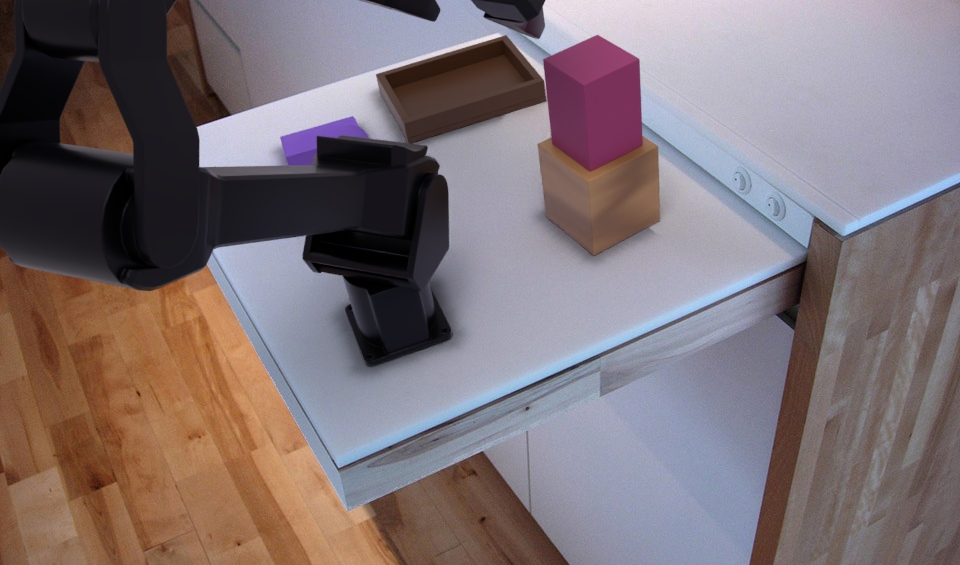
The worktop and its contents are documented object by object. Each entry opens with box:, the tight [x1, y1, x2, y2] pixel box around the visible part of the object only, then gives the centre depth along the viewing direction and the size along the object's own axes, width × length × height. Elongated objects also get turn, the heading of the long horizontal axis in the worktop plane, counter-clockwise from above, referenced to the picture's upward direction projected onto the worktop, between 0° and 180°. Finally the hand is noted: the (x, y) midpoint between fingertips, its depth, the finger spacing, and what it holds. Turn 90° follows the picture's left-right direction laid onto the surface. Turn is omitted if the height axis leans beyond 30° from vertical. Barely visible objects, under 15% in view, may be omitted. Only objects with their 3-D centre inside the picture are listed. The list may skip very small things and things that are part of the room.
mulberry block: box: [542, 34, 643, 171], centre depth 73 cm, size 5×5×7 cm
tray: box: [375, 34, 547, 144], centre depth 96 cm, size 10×13×2 cm
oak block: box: [537, 135, 661, 256], centre depth 78 cm, size 6×6×7 cm
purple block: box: [279, 115, 370, 166], centre depth 87 cm, size 12×7×7 cm, turn 18°
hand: (486, 23), depth 72 cm, fingers open, 9 cm apart
